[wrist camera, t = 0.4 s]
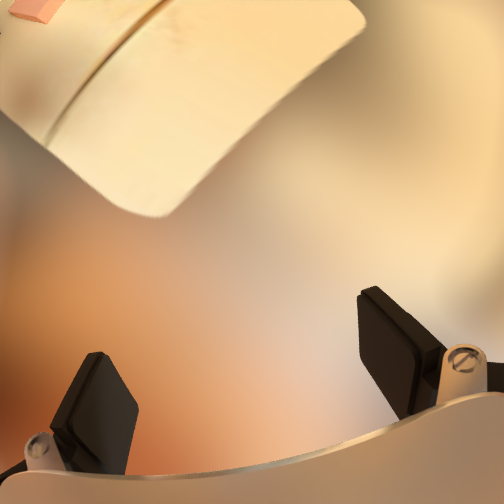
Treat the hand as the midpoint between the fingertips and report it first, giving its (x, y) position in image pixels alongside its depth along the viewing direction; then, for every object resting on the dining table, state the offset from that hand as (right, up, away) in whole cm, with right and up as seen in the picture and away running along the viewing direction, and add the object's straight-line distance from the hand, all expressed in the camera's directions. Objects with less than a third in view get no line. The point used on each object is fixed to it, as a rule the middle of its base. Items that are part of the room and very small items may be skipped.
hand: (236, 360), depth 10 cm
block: (-34, +44, +15) cm, 57 cm away
